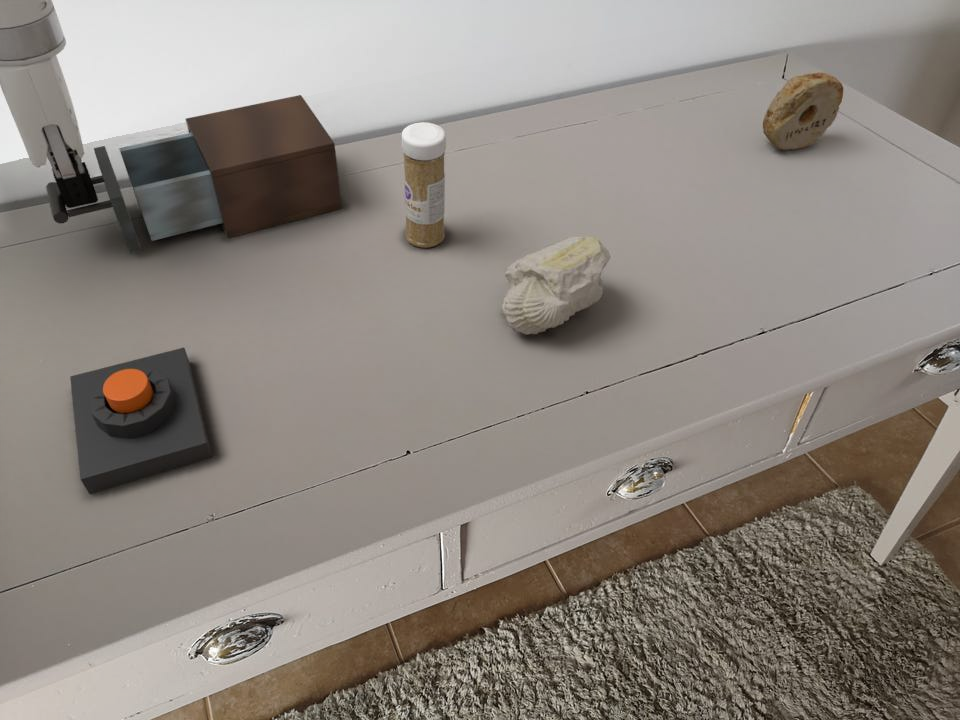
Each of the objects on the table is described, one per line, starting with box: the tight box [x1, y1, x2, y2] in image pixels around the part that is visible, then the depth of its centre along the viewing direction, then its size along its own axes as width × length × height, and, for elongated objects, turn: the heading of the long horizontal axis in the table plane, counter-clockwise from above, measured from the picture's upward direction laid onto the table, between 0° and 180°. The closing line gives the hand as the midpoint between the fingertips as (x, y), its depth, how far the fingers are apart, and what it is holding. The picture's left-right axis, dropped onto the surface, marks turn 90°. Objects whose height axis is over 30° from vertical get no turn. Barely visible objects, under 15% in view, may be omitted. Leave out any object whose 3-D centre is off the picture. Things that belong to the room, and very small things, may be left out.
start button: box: [103, 369, 153, 413], centre depth 66 cm, size 4×4×2 cm
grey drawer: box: [45, 132, 223, 254], centre depth 85 cm, size 18×10×7 cm, turn 117°
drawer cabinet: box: [185, 94, 343, 239], centre depth 90 cm, size 14×12×9 cm
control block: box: [69, 347, 213, 494], centre depth 68 cm, size 12×10×4 cm
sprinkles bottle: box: [401, 121, 447, 249], centre depth 84 cm, size 5×5×13 cm
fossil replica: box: [501, 236, 611, 335], centre depth 78 cm, size 12×8×10 cm
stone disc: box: [762, 72, 844, 151], centre depth 102 cm, size 10×4×10 cm, turn 111°
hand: (81, 200), depth 83 cm, fingers closed
